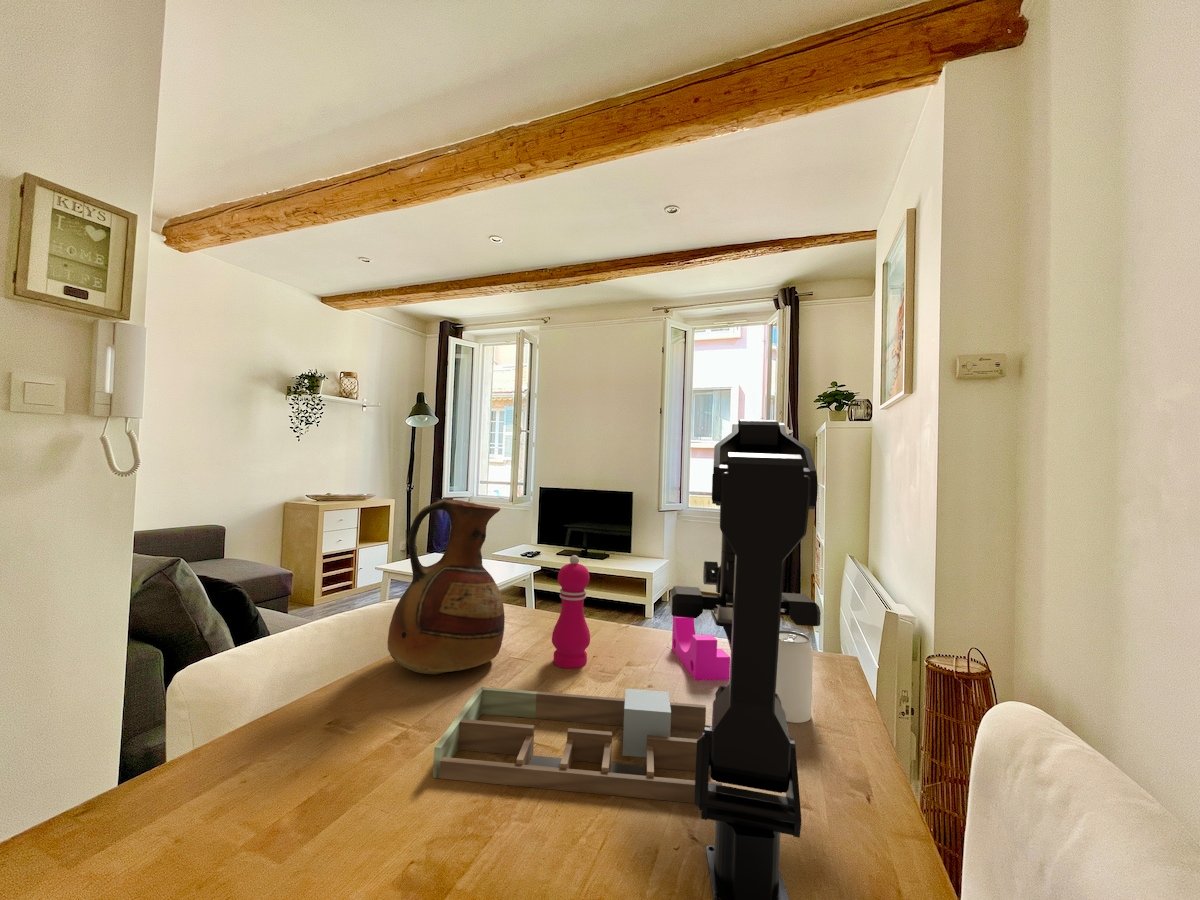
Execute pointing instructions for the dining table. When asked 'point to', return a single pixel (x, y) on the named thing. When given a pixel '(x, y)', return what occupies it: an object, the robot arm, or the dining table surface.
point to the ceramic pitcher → (449, 599)
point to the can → (795, 675)
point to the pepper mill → (571, 617)
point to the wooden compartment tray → (566, 746)
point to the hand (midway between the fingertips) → (739, 670)
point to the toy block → (699, 652)
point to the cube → (644, 719)
